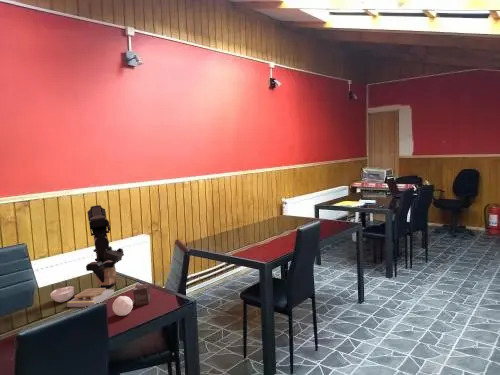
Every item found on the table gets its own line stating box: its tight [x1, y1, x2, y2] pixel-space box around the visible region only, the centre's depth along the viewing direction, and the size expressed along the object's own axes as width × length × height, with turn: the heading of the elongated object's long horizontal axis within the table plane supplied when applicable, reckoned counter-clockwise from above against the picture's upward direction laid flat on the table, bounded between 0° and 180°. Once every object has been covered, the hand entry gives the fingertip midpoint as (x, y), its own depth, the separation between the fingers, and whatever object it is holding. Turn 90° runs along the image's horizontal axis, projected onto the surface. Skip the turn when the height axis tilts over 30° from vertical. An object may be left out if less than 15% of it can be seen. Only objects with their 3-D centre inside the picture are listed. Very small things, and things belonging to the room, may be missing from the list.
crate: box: [95, 266, 118, 286], centre depth 183 cm, size 6×6×6 cm
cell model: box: [49, 285, 75, 303], centre depth 196 cm, size 10×12×7 cm
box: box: [132, 283, 152, 306], centre depth 182 cm, size 6×6×7 cm
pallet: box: [73, 287, 107, 300], centre depth 193 cm, size 10×10×2 cm
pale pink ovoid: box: [112, 295, 135, 317], centre depth 172 cm, size 8×8×12 cm
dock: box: [66, 288, 115, 308], centre depth 193 cm, size 16×14×2 cm
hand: (107, 280), depth 183 cm, fingers closed on crate, 6 cm apart
